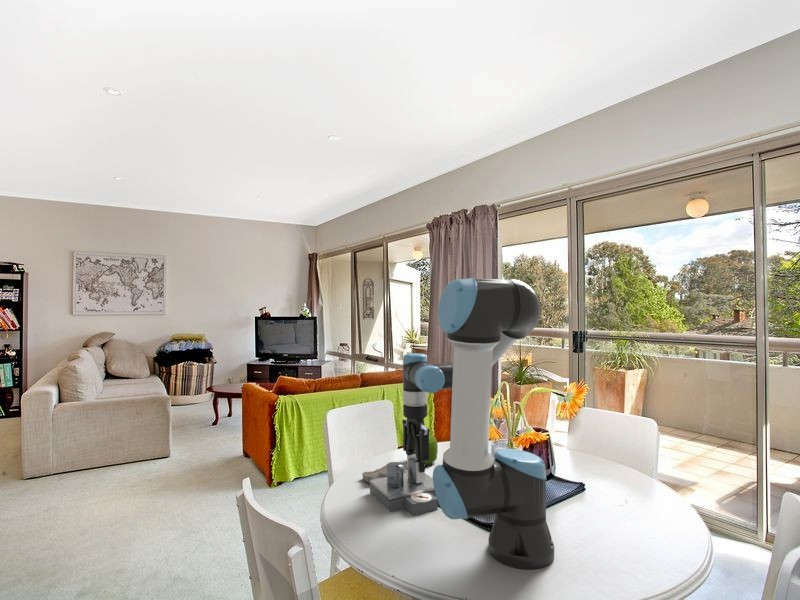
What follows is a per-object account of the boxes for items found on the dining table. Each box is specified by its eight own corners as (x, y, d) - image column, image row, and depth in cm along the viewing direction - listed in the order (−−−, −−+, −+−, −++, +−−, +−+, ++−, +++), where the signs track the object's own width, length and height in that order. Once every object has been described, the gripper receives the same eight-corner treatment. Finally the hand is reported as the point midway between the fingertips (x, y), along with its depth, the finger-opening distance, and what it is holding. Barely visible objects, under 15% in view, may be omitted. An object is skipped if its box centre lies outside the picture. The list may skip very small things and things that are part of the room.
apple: (435, 469, 162) (434, 438, 162) (405, 466, 165) (405, 436, 165) (439, 458, 173) (439, 429, 173) (411, 456, 175) (411, 428, 175)
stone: (376, 490, 145) (375, 477, 145) (358, 481, 153) (358, 469, 153) (410, 478, 155) (410, 466, 155) (392, 470, 162) (392, 459, 162)
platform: (443, 487, 137) (443, 485, 137) (389, 500, 129) (389, 497, 129) (420, 472, 150) (420, 470, 150) (369, 482, 142) (369, 480, 142)
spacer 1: (406, 484, 138) (406, 464, 138) (394, 488, 135) (393, 468, 135) (396, 480, 142) (395, 460, 142) (383, 484, 138) (383, 464, 139)
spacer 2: (427, 481, 140) (426, 461, 140) (412, 484, 138) (412, 464, 138) (419, 475, 145) (418, 456, 145) (405, 478, 142) (404, 459, 142)
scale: (453, 506, 133) (453, 493, 133) (397, 519, 124) (397, 506, 124) (420, 482, 150) (420, 471, 150) (369, 493, 142) (369, 481, 142)
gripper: (440, 408, 135) (441, 486, 135) (412, 397, 151) (412, 467, 151) (418, 411, 132) (419, 491, 131) (391, 399, 148) (392, 471, 148)
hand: (415, 478), depth 141 cm, fingers closed on spacer 2, 5 cm apart
